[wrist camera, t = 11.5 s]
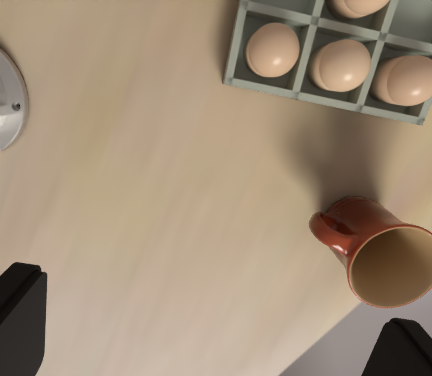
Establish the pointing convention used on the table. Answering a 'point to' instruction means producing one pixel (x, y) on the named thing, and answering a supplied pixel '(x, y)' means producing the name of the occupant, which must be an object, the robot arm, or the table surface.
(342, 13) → the egg
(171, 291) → the table surface
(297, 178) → the table surface
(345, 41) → the carton
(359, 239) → the mug
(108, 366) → the table surface
